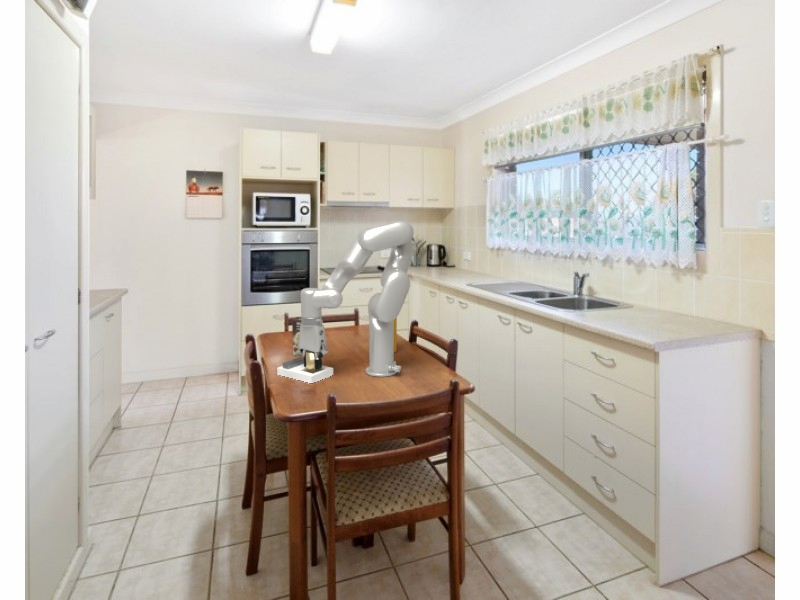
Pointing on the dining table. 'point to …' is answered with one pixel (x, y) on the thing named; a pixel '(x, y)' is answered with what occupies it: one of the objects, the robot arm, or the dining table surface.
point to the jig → (303, 371)
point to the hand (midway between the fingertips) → (312, 367)
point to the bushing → (311, 362)
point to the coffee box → (296, 335)
